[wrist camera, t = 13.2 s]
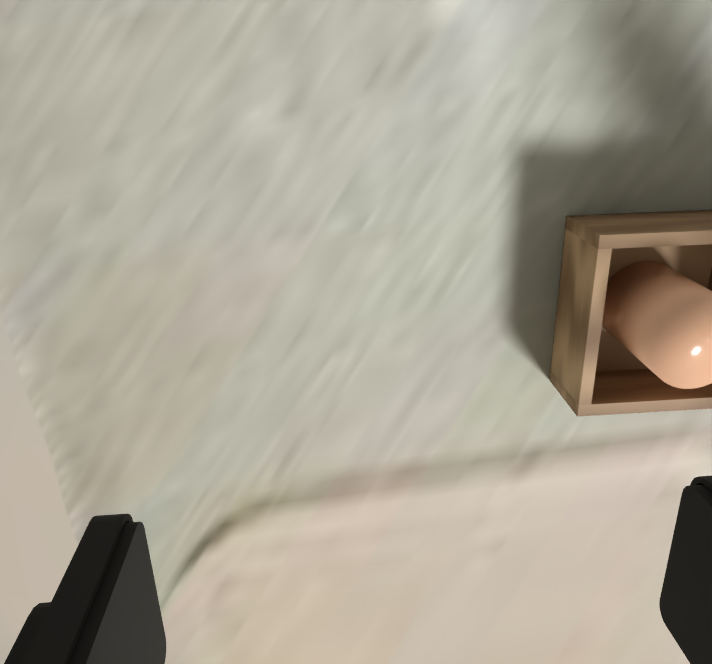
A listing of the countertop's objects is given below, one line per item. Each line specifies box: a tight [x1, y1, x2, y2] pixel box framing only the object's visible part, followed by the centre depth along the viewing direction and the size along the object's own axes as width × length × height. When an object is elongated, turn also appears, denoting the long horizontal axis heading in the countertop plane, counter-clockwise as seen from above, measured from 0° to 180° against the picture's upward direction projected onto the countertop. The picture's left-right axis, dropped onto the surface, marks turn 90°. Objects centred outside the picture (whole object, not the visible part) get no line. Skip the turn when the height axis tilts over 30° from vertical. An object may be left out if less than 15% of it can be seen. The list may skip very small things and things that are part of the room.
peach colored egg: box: [602, 261, 712, 389], centre depth 39 cm, size 6×6×7 cm
